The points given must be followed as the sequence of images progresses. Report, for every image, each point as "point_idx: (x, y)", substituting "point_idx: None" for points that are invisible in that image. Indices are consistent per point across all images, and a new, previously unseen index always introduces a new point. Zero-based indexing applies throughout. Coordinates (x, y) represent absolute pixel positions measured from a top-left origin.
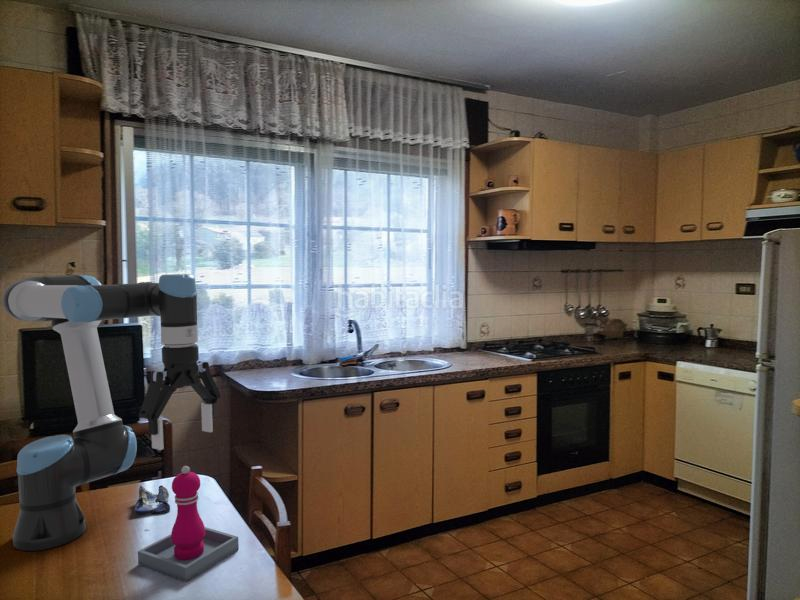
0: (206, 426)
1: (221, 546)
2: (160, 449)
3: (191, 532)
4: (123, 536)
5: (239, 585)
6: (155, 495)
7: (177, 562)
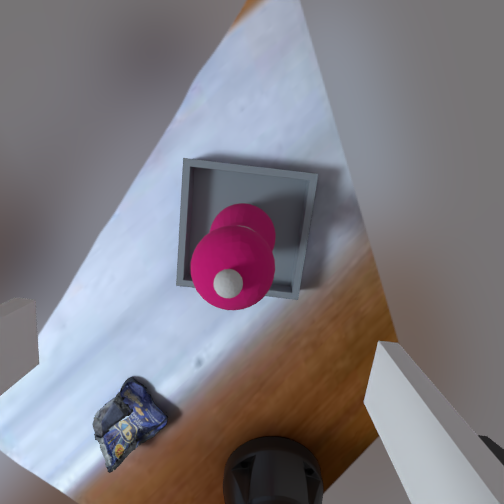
0: (10, 346)
1: (228, 164)
2: (398, 346)
3: (260, 214)
4: (231, 380)
5: (292, 70)
6: (98, 438)
7: (306, 203)
